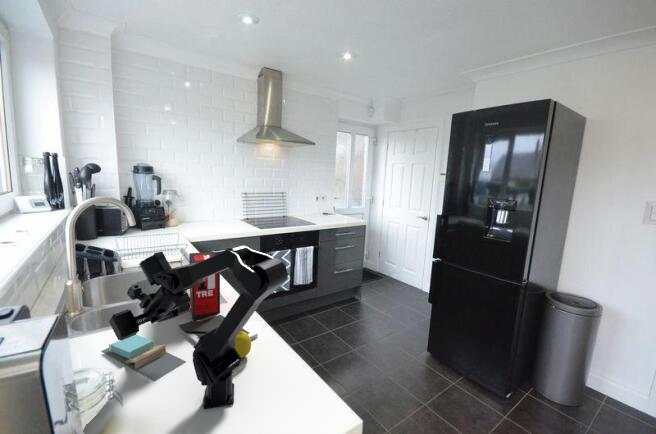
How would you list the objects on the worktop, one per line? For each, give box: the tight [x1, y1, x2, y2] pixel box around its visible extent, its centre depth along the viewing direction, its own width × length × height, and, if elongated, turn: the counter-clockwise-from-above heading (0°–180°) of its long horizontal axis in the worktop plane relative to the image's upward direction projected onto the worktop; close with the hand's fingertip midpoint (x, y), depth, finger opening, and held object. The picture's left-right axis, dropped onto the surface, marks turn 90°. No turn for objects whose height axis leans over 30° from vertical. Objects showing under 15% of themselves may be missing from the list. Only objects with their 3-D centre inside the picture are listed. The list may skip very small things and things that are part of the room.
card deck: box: [108, 334, 155, 359], centre depth 84 cm, size 2×7×10 cm
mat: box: [101, 345, 187, 382], centre depth 82 cm, size 24×9×1 cm, turn 63°
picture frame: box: [178, 311, 259, 345], centre depth 95 cm, size 16×3×21 cm
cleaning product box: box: [188, 251, 221, 321], centre depth 111 cm, size 16×9×20 cm, turn 28°
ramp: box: [126, 344, 167, 369], centre depth 81 cm, size 5×8×3 cm, turn 153°
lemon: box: [234, 331, 252, 359], centre depth 83 cm, size 6×6×8 cm
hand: (141, 327), depth 81 cm, fingers open, 9 cm apart
